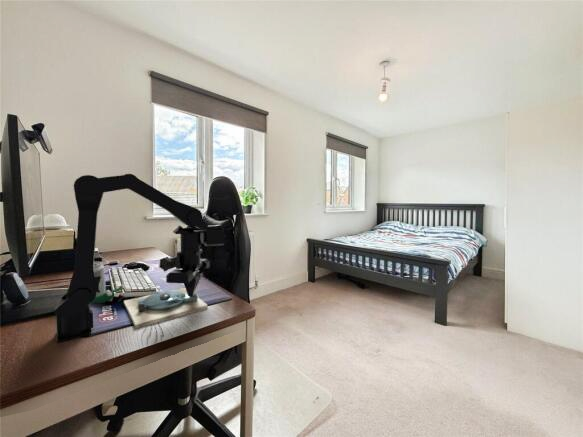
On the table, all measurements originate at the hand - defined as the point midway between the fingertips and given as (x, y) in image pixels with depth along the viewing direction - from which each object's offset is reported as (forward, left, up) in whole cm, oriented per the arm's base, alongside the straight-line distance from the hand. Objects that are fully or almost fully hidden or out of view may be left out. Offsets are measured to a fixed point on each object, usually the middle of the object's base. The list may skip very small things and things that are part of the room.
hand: (190, 296), depth 79 cm
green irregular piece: (-18, +23, -4) cm, 29 cm away
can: (-23, +28, -4) cm, 36 cm away
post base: (-6, +6, -4) cm, 9 cm away
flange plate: (-5, +6, -2) cm, 8 cm away
